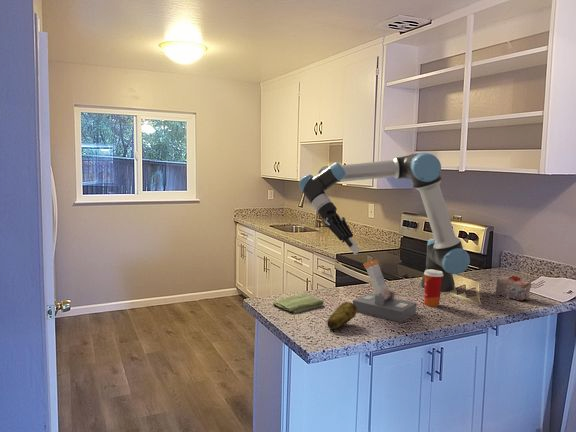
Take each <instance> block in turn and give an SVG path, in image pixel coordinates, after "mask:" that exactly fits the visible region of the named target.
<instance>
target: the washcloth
mask: <svg viewBox="0 0 576 432" xmlns="http://www.w3.org/2000/svg"><path fill="white" fill-rule="evenodd" d="M324 304H325V303H324V300H322V299H320V298H316V297H314V296H311V295H309V294H307V293H305V292H303V293H299V294H296V295H295V294H294V295H292V296H288V297H284V298H279V299H276V300H275V301H274V302H273V303H272V305H274V306H275V305H276V306H275V307H277V306H278V307H277V308H280V309H282V310H285V311H289V312H291V311H292V312H291V313H293V312H294V313H293V314H298V313H299V314H300V313H301V312H306V311H308V310H309V309H310V310H313V309H317V308H320V307H323V305H324Z"/></svg>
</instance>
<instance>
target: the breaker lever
mask: <svg viewBox="0 0 576 432" xmlns="http://www.w3.org/2000/svg"><path fill="white" fill-rule="evenodd" d="M362 265H363V266H364V267H363V268H364V269H366V271H367V272H366V273H367V275H368V278H369V279H370V282H371V284H372V287H373V289H374V293H375V294H376V295H377V294H378V295H383V296H384V302H385V301H387V300H389V299H391V294H390V292H389V290H390V289H389V287H388V285H387V283H386V280H385V276H384V275H383V272H382V270H381V267H380V262H379V259H378V258H376V259H373V260H370V261H367V262H365V263H363V264H362Z"/></svg>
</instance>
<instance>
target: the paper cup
mask: <svg viewBox="0 0 576 432" xmlns="http://www.w3.org/2000/svg"><path fill="white" fill-rule="evenodd" d="M424 274H425V288H424V293H423V294H424V297H423V299H424V305H425V306H427V307H433V308H435V307H439V305H440V299H441V292H442V291H441V285H442V278H443V276H444V275H443V272H442V271H439V270H432V269H429V270H426V269H424V272H423V275H424Z"/></svg>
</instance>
